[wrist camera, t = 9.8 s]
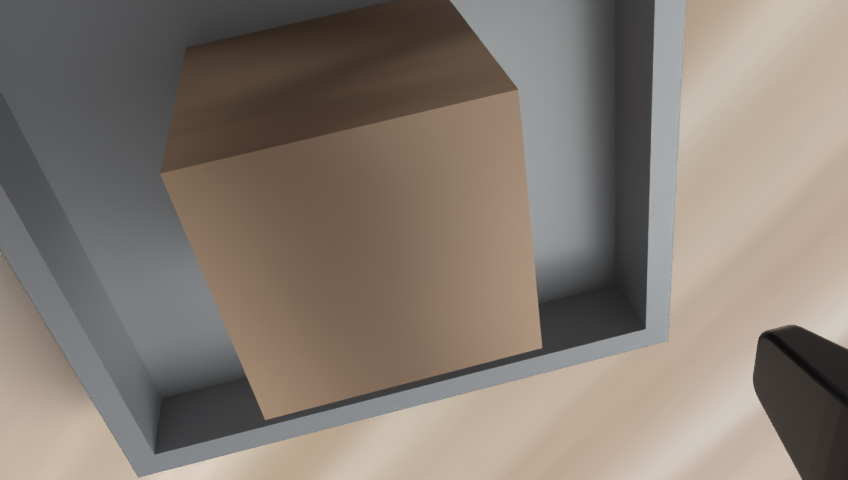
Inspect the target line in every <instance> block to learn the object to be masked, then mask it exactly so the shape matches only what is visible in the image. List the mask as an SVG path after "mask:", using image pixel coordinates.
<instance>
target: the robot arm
mask: <svg viewBox="0 0 848 480" xmlns="http://www.w3.org/2000/svg"><path fill="white" fill-rule="evenodd" d="M753 384H754V389H755V392H756V394H757V396H758V399H759V400H760V402H761V404H762V406H763V408H764V410H765V412H766V413H767V415H768V417H769V419H770V421H771V423H772V425H773V426H774V428H775V430H776V432H777V434H778V436H779V437H780V439H781V441H782V443H783V445H784V447H785V449H786V450H787V452H788V454H789V456H790V458H791V460H792V462H793V463H794V465H795V467H796V469H797V471H798V473H799V475H800V476H801V478H802V480H848V349H846V348H844V347H842V346H840V345H838V344H836V343H834V342H831V341H829V340H827V339H825V338H823V337H821V336H819V335H817V334H815V333H813V332H811V331H808V330H806V329H804V328H802V327H799V326H796V325H787V326H783V327H779V328H775V329H771V330H767V331H765V332H763V333H762V334H761V335H760V337H759V340H758V345H757V352H756V359H755V366H754V373H753Z"/></svg>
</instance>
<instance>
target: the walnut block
mask: <svg viewBox="0 0 848 480" xmlns="http://www.w3.org/2000/svg"><path fill="white" fill-rule="evenodd" d="M160 174H161V177H162V179H163V181H164V184H165V186H166V188H167V191H168V193H169V195H170V198H171V200H172V203H173V205H174V207H175V210H176V212H177V214H178V217H179V219H180V221H181V224H182V226H183V228H184V231H185V233H186V235H187V238H188V240H189V242H190V245H191V247H192V249H193V252H194V254H195V256H196V259H197V261H198V264H199V266H200V268H201V271H202V273H203V275H204V278H205V280H206V282H207V285H208V287H209V289H210V292H211V294H212V296H213V299H214V301H215V303H216V306H217V308H218V310H219V313H220V315H221V317H222V320H223V322H224V325H225V327H226V329H227V332H228V334H229V336H230V339H231V341H232V343H233V346H234V348H235V350H236V353H237V355H238V357H239V360H240V362H241V364H242V367H243V369H244V371H245V374H246V376H247V378H248V381H249V383H250V386H251V388H252V390H253V393H254V395H255V397H256V400H257V402H258V404H259V407H260V409H261V411H262V414H263V416H264V418H265V420H267V419H271V418H275V417H279V416H283V415H287V414H291V413H294V412H298V411H302V410H306V409H310V408H314V407H317V406H321V405H325V404H329V403H333V402H337V401H341V400H344V399H348V398H352V397H356V396H360V395H364V394H367V393H371V392H375V391H379V390H383V389H387V388H391V387H394V386H398V385H402V384H406V383H410V382H414V381H418V380H421V379H425V378H429V377H433V376H437V375H441V374H444V373H448V372H452V371H456V370H460V369H464V368H468V367H471V366H475V365H479V364H483V363H487V362H491V361H494V360H498V359H502V358H506V357H510V356H514V355H518V354H521V353H525V352H529V351H533V350H537V349H541V348H542V340H541V329H540V318H539V307H538V296H537V286H536V275H535V264H534V253H533V242H532V231H531V220H530V210H529V199H528V188H527V177H526V166H525V155H524V144H523V134H522V123H521V112H520V101H519V90H518V88H517V87H516V86H515V84H514V83H513V82H512V80H511V79H510V78H509V76H508V75H507V74H506V73H505V71H504V70H503V69H502V67H501V66H500V65H499V63H498V62H497V61H496V60H495V58H494V57H493V56H492V54H491V53H490V52H489V50H488V49H487V48H486V47H485V45H484V44H483V43H482V41H481V40H480V39H479V37H478V36H477V35H476V33H475V32H474V31H473V30H472V28H471V27H470V26H469V24H468V23H467V22H466V20H465V19H464V18H463V17H462V15H461V14H460V13H459V11H458V10H457V9H456V7H455V6H454V5H453V4H452V2H451V1H450V0H395V1H391V2H386V3H382V4H377V5H373V6H368V7H364V8H359V9H355V10H351V11H346V12H342V13H337V14H333V15H328V16H324V17H319V18H315V19H310V20H306V21H302V22H297V23H293V24H288V25H284V26H279V27H275V28H270V29H266V30H261V31H257V32H252V33H248V34H244V35H239V36H235V37H230V38H226V39H221V40H217V41H212V42H208V43H203V44H199V45H194V46H190V47H186V50H185V55H184V59H183V64H182V69H181V74H180V79H179V84H178V89H177V94H176V99H175V104H174V108H173V113H172V118H171V123H170V128H169V133H168V138H167V143H166V148H165V153H164V157H163V162H162V167H161V172H160Z"/></svg>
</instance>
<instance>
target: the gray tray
mask: <svg viewBox="0 0 848 480" xmlns="http://www.w3.org/2000/svg"><path fill="white" fill-rule="evenodd" d="M391 1H395V0H0V250H1V251H2V253H3V255H4V256H5V258H6V260H7V261H8V263H9V265H10V266H11V268H12V270H13V271H14V273H15V275H16V276H17V278H18V279H19V281H20V283H21V284H22V286H23V288H24V289H25V291H26V293H27V294H28V296H29V298H30V299H31V301H32V303H33V304H34V306H35V308H36V309H37V311H38V312H39V314H40V316H41V317H42V319H43V321H44V322H45V324H46V326H47V327H48V329H49V331H50V332H51V334H52V336H53V337H54V339H55V341H56V342H57V344H58V345H59V347H60V349H61V350H62V352H63V354H64V355H65V357H66V359H67V360H68V362H69V364H70V365H71V367H72V369H73V370H74V372H75V374H76V375H77V377H78V378H79V380H80V382H81V383H82V385H83V387H84V388H85V390H86V392H87V393H88V395H89V397H90V398H91V400H92V402H93V403H94V405H95V407H96V408H97V410H98V412H99V413H100V415H101V416H102V418H103V420H104V421H105V423H106V425H107V426H108V428H109V430H110V431H111V433H112V435H113V436H114V438H115V440H116V441H117V443H118V445H119V446H120V448H121V449H122V451H123V453H124V454H125V456H126V458H127V459H128V461H129V463H130V464H131V466H132V468H133V469H134V471H135V473H136V474H137V476H138V477H142V476H146V475H150V474H154V473H158V472H161V471H165V470H169V469H173V468H177V467H181V466H185V465H189V464H193V463H196V462H200V461H204V460H208V459H212V458H216V457H220V456H224V455H227V454H231V453H235V452H239V451H243V450H247V449H251V448H255V447H259V446H262V445H266V444H270V443H274V442H278V441H282V440H286V439H290V438H293V437H297V436H301V435H305V434H309V433H313V432H317V431H321V430H324V429H328V428H332V427H336V426H340V425H344V424H348V423H352V422H356V421H359V420H363V419H367V418H371V417H375V416H379V415H383V414H387V413H390V412H394V411H398V410H402V409H406V408H410V407H414V406H418V405H422V404H425V403H429V402H433V401H437V400H441V399H445V398H449V397H453V396H456V395H460V394H464V393H468V392H472V391H476V390H480V389H484V388H488V387H491V386H495V385H499V384H503V383H507V382H511V381H515V380H519V379H522V378H526V377H530V376H534V375H538V374H542V373H546V372H550V371H553V370H557V369H561V368H565V367H569V366H573V365H577V364H581V363H585V362H588V361H592V360H596V359H600V358H604V357H608V356H612V355H616V354H619V353H623V352H627V351H631V350H635V349H639V348H643V347H647V346H651V345H654V344H658V343H662V342H666V341H668V335H669V316H670V297H671V278H672V259H673V240H674V221H675V201H676V182H677V163H678V144H679V125H680V106H681V87H682V68H683V49H684V29H685V10H686V0H450V1H451V2H452V4H453V5H454V6H455V7H456V9H457V10H458V11H459V13H460V14H461V15H462V17H463V18H464V19H465V20H466V22H467V23H468V24H469V26H470V27H471V28H472V30H473V31H474V32H475V33H476V35H477V36H478V37H479V39H480V40H481V41H482V43H483V44H484V45H485V47H486V48H487V49H488V50H489V52H490V53H491V54H492V56H493V57H494V58H495V60H496V61H497V62H498V63H499V65H500V66H501V67H502V69H503V70H504V71H505V73H506V74H507V75H508V76H509V78H510V79H511V80H512V82H513V83H514V84H515V86H516V87H517V88H518V90H519V101H520V112H521V123H522V134H523V144H524V155H525V166H526V177H527V188H528V199H529V210H530V220H531V231H532V242H533V253H534V264H535V275H536V286H537V296H538V307H539V318H540V329H541V340H542V348H541V349H537V350H533V351H529V352H525V353H521V354H518V355H514V356H510V357H506V358H502V359H498V360H494V361H491V362H487V363H483V364H479V365H475V366H471V367H468V368H464V369H460V370H456V371H452V372H448V373H444V374H441V375H437V376H433V377H429V378H425V379H421V380H418V381H414V382H410V383H406V384H402V385H398V386H394V387H391V388H387V389H383V390H379V391H375V392H371V393H367V394H364V395H360V396H356V397H352V398H348V399H344V400H341V401H337V402H333V403H329V404H325V405H321V406H317V407H314V408H310V409H306V410H302V411H298V412H294V413H291V414H287V415H283V416H279V417H275V418H271V419H267V420H265V418H264V416H263V414H262V411H261V409H260V407H259V404H258V402H257V400H256V397H255V395H254V393H253V390H252V388H251V386H250V383H249V381H248V378H247V376H246V374H245V371H244V369H243V367H242V364H241V362H240V360H239V357H238V355H237V353H236V350H235V348H234V346H233V343H232V341H231V339H230V336H229V334H228V332H227V329H226V327H225V325H224V322H223V320H222V317H221V315H220V313H219V310H218V308H217V306H216V303H215V301H214V299H213V296H212V294H211V292H210V289H209V287H208V285H207V282H206V280H205V278H204V275H203V273H202V271H201V268H200V266H199V264H198V261H197V259H196V256H195V254H194V252H193V249H192V247H191V245H190V242H189V240H188V238H187V235H186V233H185V231H184V228H183V226H182V224H181V221H180V219H179V217H178V214H177V212H176V210H175V207H174V205H173V203H172V200H171V198H170V195H169V193H168V191H167V188H166V186H165V184H164V181H163V179H162V177H161V174H160V172H161V167H162V162H163V157H164V153H165V148H166V143H167V138H168V133H169V128H170V123H171V118H172V113H173V108H174V104H175V99H176V94H177V89H178V84H179V79H180V74H181V69H182V64H183V59H184V55H185V50H186V47H190V46H194V45H199V44H203V43H208V42H212V41H217V40H221V39H226V38H230V37H235V36H239V35H244V34H248V33H252V32H257V31H261V30H266V29H270V28H275V27H279V26H284V25H288V24H293V23H297V22H302V21H306V20H310V19H315V18H319V17H324V16H328V15H333V14H337V13H342V12H346V11H351V10H355V9H359V8H364V7H368V6H373V5H377V4H382V3H386V2H391Z"/></svg>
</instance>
